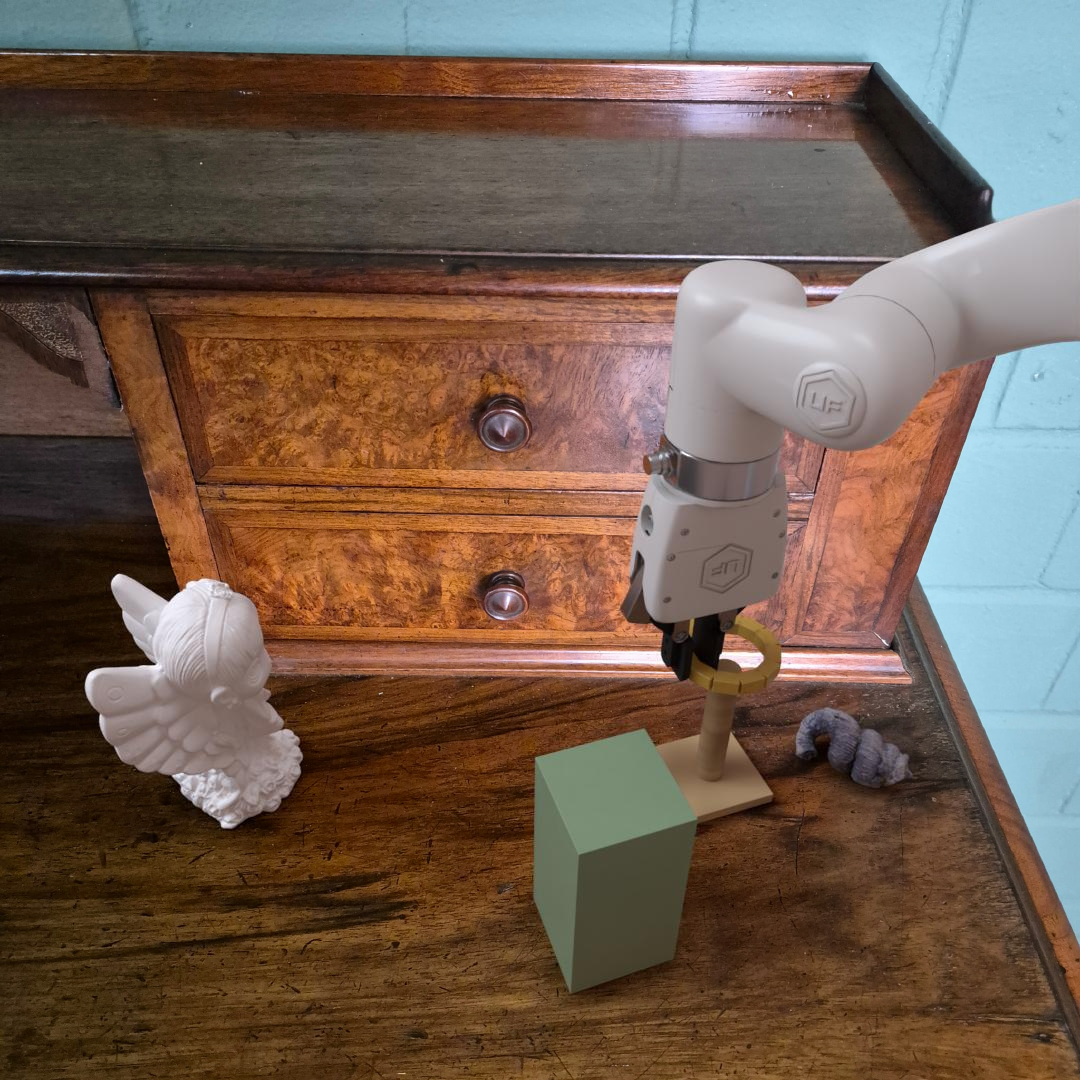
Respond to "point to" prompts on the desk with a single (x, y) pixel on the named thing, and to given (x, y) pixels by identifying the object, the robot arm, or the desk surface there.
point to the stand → (610, 857)
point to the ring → (747, 679)
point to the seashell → (853, 748)
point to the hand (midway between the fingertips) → (689, 663)
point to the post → (715, 761)
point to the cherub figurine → (198, 700)
